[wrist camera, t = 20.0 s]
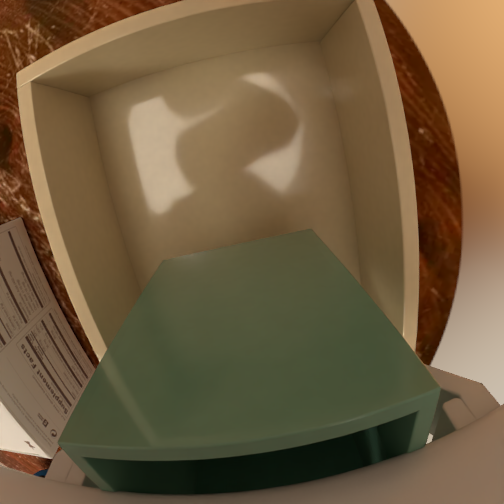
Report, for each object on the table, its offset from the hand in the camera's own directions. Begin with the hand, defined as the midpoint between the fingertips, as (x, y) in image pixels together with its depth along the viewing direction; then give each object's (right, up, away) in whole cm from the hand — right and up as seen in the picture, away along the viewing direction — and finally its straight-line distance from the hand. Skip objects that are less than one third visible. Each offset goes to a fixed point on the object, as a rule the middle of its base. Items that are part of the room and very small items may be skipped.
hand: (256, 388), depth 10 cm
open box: (-1, +7, +8) cm, 11 cm away
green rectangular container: (+1, -2, +5) cm, 6 cm away
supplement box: (-22, -1, +10) cm, 24 cm away
